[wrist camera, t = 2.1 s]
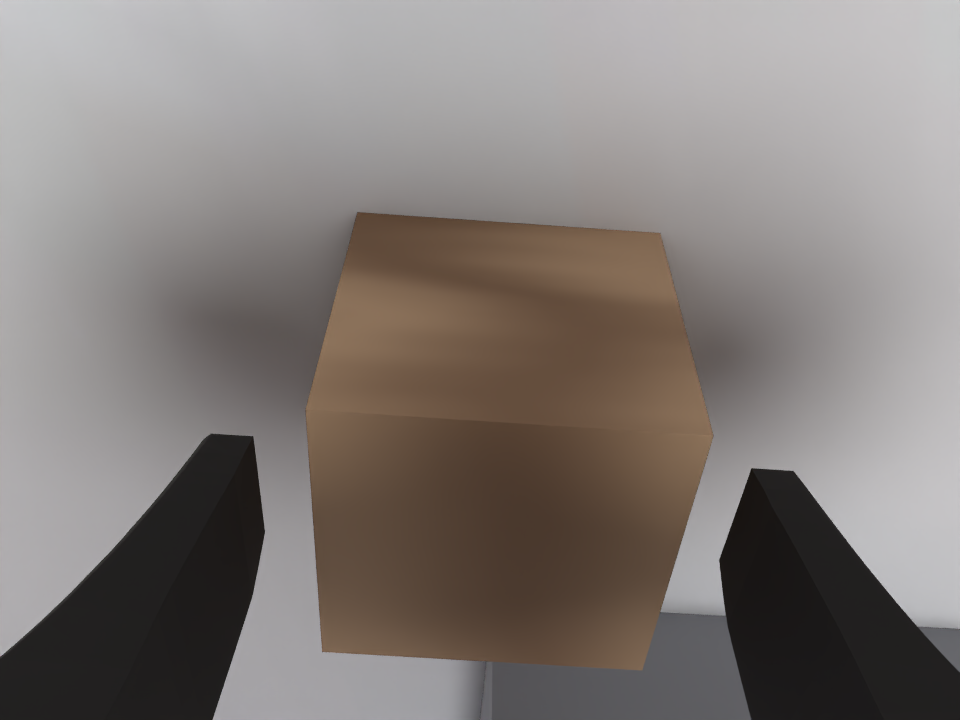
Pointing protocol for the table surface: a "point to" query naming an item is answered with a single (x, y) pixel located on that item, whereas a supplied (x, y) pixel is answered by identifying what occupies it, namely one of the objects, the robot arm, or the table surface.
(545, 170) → the table surface
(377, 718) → the table surface
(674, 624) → the gray block
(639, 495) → the walnut cube
